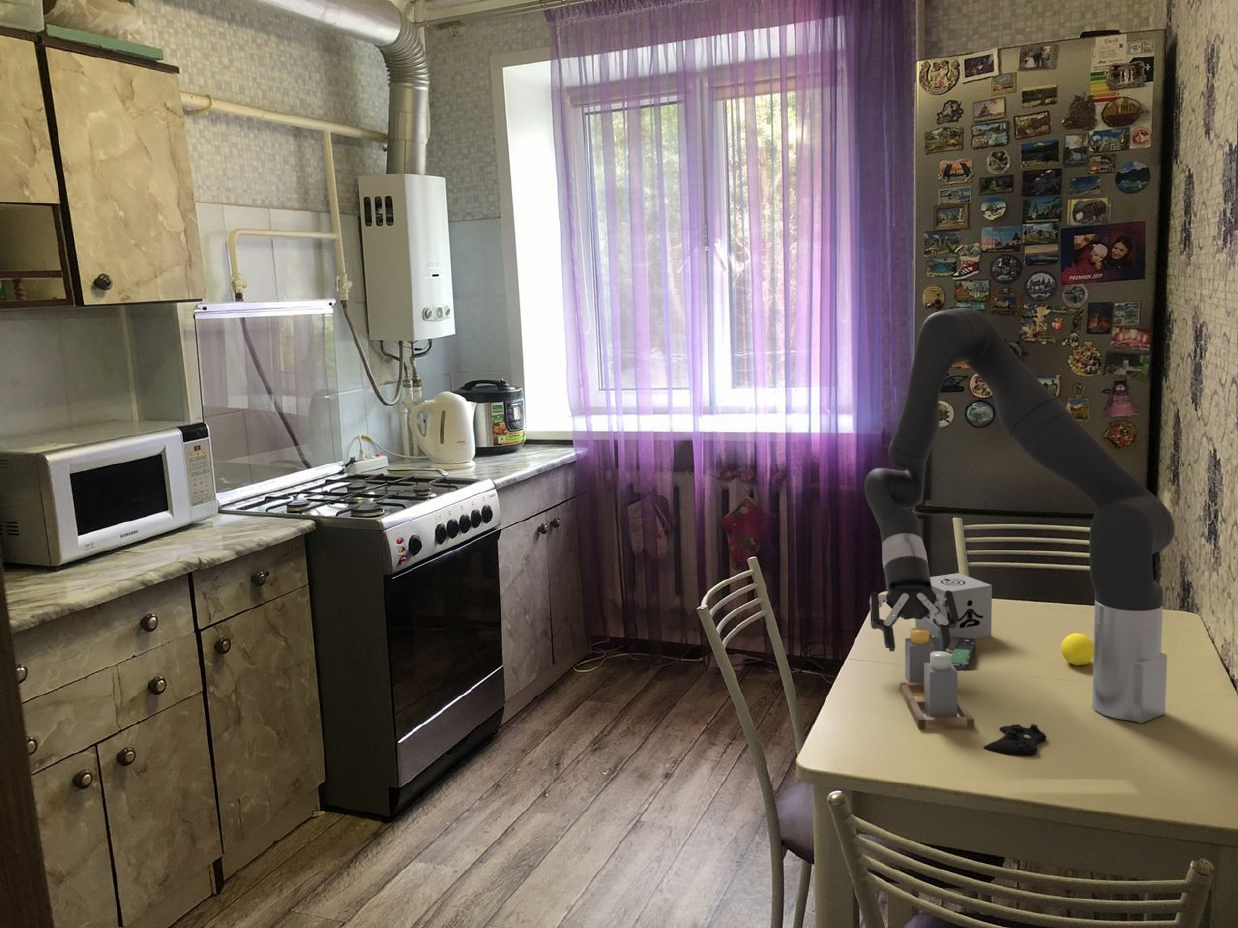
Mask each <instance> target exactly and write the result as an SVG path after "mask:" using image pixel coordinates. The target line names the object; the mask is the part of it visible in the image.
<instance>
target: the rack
mask: <svg viewBox="0 0 1238 928" xmlns="http://www.w3.org/2000/svg"><path fill="white" fill-rule="evenodd" d="M899 692H900V694H901V696H902V698H903V700H904V702H905V705H906V706H907V708H908V710H909V712H910V715H911V716H912V719H913V721H914V723H915V725H916V726H917V728H918V730H972V729H975V718H974V717H973V715H972V713H971V712H970V710H969V709H968V707H967V706H966V704H965V703H964V701H963V699H962V698H961V696H960V694H959V693H958V692H957V717H926V715H925V713H924V682H915V683H908V682H899Z"/></svg>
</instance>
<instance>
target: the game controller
mask: <svg viewBox="0 0 1238 928" xmlns="http://www.w3.org/2000/svg"><path fill="white" fill-rule="evenodd" d="M998 730H999V732H1001V733H1003V734H1004V735H1003V736H1002V737H1001V738H999V739H997V740H994V741H992V742H990V743H988V744H985V745H984V746H983V750H985V751H988V752H992V753H995V754H1000V755H1006V756H1014V757H1015V756H1016V757H1017V756H1018V757H1032V756H1034V755H1035V754H1037V752H1038V747H1037V745H1039V744H1041V743H1044V742H1045V740H1047V735H1046V733H1045V732H1043V731H1041V730H1040V729H1039V726H1038V725H1037V724H1033V723H1032V724H1030V726H1029V727H1025V726H1022V725H1021V724H1011V725H1004V726H1000V727H999V728H998Z"/></svg>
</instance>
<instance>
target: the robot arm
mask: <svg viewBox="0 0 1238 928" xmlns="http://www.w3.org/2000/svg"><path fill="white" fill-rule="evenodd" d="M920 327H921V328H919V329H920V330H919V333H918V336H917V341H916V345H915V350H914V357H913V360H912V361H913V362H912V367H911V372H910V376H909V377H910V378H909V383H908V387H907V392H906V397H905V401H904V404H903V407H902V411H901V415H900V417H899V420H898V422H897V425H896V428H895V430H894V433H893V436H892V437H891V440H890V443H889V446H888V451H887V454H888V457H889V459H890V460H891V461H892V462H893V463H894V464H896V465H898V466H899V467H902V468H905V470H899V469H892V468H885V467H876V468H874V469H872V470H871V471H870V472H869V473H868V474H867V475H866V478H865V481H864V487H863V488H864V495H865V498H866V502H867V504H868V506H869V508H870V509H871V513H872V515H873V516H874V518H875V521H876V522H877V524H878V527H879V531H880V532H879V533H880V539H881V545H882V546H881V547H882V552H881V553H882V556H881V557H882V567H883V570H884V577H885V584H886V592H887V593H886V594H879V593H878V592H877V591H872V592H871V593H870V598H869V613H870V627H871V628H872V629H873V630H877V629H878V630H880V631H882V635H883V642H884V647H885V648H886V649H888V650H889V652H895V650H896V643H895V635H894V627H893V626H894V624H896V623H897V621H898V620H899V618H901V619H903V620H911V619H914V620H915V619H922V618H924V617H925V618H926V619H927V620H928V621H929V622H930V623H931V624H934V625H935V626H936V627H937V628H938V629H939V631H938V634H939V640H940V645H941V651H946V650H947V648H949V646H950V642H951V639H950V634H949V628H955V627H956V626H957V622H958V620H959V617H958V613H957V609H956V605H955V601H954V597H953V593H952V592H951V591H949V590H948V591H946V592H945V593H943V594H935V593H934V591H933V590H932V585H931V579H930V577H931V575H930V573H931V572H930V570H929V569H930V568H929V564H928V563H929V562H928V556H927V552H926V549H925V545H924V541H923V537H922V536H923V535H922V531H921V530H922V529H921V523H920V520H919V517H918V516H917V514H916V513H915V512H913V511H912V509H914V508H915V507H916V506H918V505H919V504H920V503H921V501H922V500H923V497H924V489H925V477H926V476H925V474H926V467H927V461H928V458H929V456H930V452H931V450H932V447H933V446H934V443H935V441H936V438H937V434H938V431H939V427H940V422H941V421H940V420H941V418H940V417H941V416H940V392H941V389H942V386H943V383H944V380H945V379H946V377H947V375H948V372H949V371H950V369H951V368H952V366H953V365H955V364H956V365H957V364H961V363H964V364H966V366H968V367H969V368H971V370H972V371H974V372H975V374H977V376H978V377H979V378H980V379H981V380H982V381H983V382H984V383H985V385H986V386H987V387H988V389H989V391H990V393H991V394H992V395H991V396H992V397H993V400H994V406H995V409H996V412H997V416H998V419H999V421H1000V423H1001V426H1002V427H1003V429H1004V431H1005V432H1006V433H1007V434H1008V436H1009V437H1010V438H1011V439H1012V440H1013V441H1014V442H1015V444H1016V446H1018V447H1019V448H1020V450H1022V451H1023V452H1024V454H1026V456H1028V458H1029V459H1031V460H1032V461H1033V462H1034V463H1036V464H1037V465H1038V466H1040V467H1042V468H1043V469H1044V470H1046V471H1048V472H1049V473H1050V474H1051V473H1052V474H1053V475H1054V476H1056V477H1057V478H1060V479H1061V480H1063V481H1065V482H1066V483H1068V484H1069V485H1071V486H1073V487H1074V488H1076V489H1077V490H1078V491H1079V492H1081V493H1082V494H1083V495H1084V496H1085V497H1086V498H1087V499H1088V500H1089V501H1090V502H1091V503H1092V504H1093V506H1094V507H1095V508H1096V509H1097V510H1096V511H1095V512H1094V515H1093V517H1092V520H1091V522H1090V527H1089V541H1088V542H1089V543H1088V544H1089V545H1088V546H1089V576H1090V582H1091V584H1092V586H1093V589H1094V622H1093V623H1094V624H1093V625H1094V626H1093V628H1094V629H1093V644H1094V656H1093V658H1092V660H1093V661H1092V663H1093V664H1092V697H1091V698H1092V702H1091V703H1092V705H1091V706H1092V708H1093V709H1094V710H1095V711H1096V712H1098V713H1099V714H1101V715H1103V716H1107V717H1110V718H1113V719H1117V720H1122V721H1123V720H1124V721H1132V722H1136V723H1139V724H1143V723H1145V722H1148V721H1150V720H1153V719H1155V718H1158V717H1161V716H1164V715H1165V714H1166V697H1167V696H1166V694H1167V673H1168V672H1167V671H1168V670H1167V669H1168V668H1167V667H1168V656H1167V654H1166V653H1163V652H1162V636H1163V635H1162V634H1163V609H1164V607H1163V605H1164V589H1163V587H1162V586H1161V584H1159V583H1158V582H1157V581H1155V580H1154V575H1153V574H1154V573H1153V572H1154V571H1153V566H1154V565H1153V555H1154V554H1156V553H1159V552H1161V551H1163V550H1165V549H1166V548H1167V547H1168V546H1169V545H1170V544H1171V543H1172V541H1173V539H1174V536H1175V531H1176V527H1175V522H1174V519H1173V516H1172V514H1171V512H1170V510H1169V509H1168V508H1167V506H1166V505H1165V503H1163V502H1162V501H1161V500H1160V499H1159V498H1157V496H1156V495H1154V493H1152V492H1151V491H1150V490H1149V489H1147V487H1145V486H1143V484H1142V483H1141V482H1139V481H1138V480H1137V479H1136V478H1134V477H1133V476H1132V475H1131V474H1130V473H1128V471H1126V470H1125V469H1124V468H1123V467H1122V466H1121V465H1120V464H1119V463H1118V462H1116V461H1115V459H1113V457H1112V456H1111V455H1110V454H1109V453H1108V452H1107V451H1106V450H1105V449H1104V448H1103V447H1102V445H1101V444H1100V443H1099V442H1098V441H1097V440H1096V439H1095V438H1094V437H1093V436H1092V435H1091V434H1090V433H1089V432H1088V431H1087V429H1086V428H1085V427H1084V426H1083V425H1082V424H1081V423H1080V422H1079V421H1078V420H1077V419H1076V417H1075V416H1074V415H1073V414H1072V413H1071V412H1070V411H1069V409H1067V407H1065V406H1064V405H1063V403H1062V402H1061V401H1060V400H1059V399H1058V398H1057V397H1056V396H1055V395H1054V394H1052V393H1051V391H1050V390H1049V389H1047V388H1046V386H1045V385H1044V384H1043V383H1042V382H1041V381H1040V380H1039V379H1038V377H1036V375H1034V373H1033V372H1032V371H1031V370H1030V369H1029V368H1028V367H1027V366H1026V365H1025V364H1024V363H1023V362H1022V361H1021V360H1020V358H1018V356H1017V355H1016V354H1015V353H1014V351H1013V350H1012V349H1011V348H1010V346H1009V345H1008V343H1007V342H1006V341H1005V339H1004V338H1003V337H1002V335H1001V334H1000V333H999V331H998V330H997V328H995V325H993V324H992V322H991V321H990V320H989V318H987V316H985V315H984V314H983V313H982V312H980V311H979V310H977V309H974V308H970V307H959V308H952V309H946V310H940V311H937V312H934V313H931V314H930V315H929V316H928V317H927V318H926V319H925V320H924V321H923V323H922V325H921V326H920ZM936 601H938V602H939V603H940V604H941V606H942V607H945V610H946V614H947V619H946V618H945V617H944V616H943V615H942V614H941V613H940V611H939V610H938V609H937V608H936V607H935V606H934V604H935V602H936ZM884 603H886V605H887V606H889V608H890V609H891V610H890V612H889V614H888V615H887V616H886V618H885V619H882V618H880V608H882V606H883V604H884Z"/></svg>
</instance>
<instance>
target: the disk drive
mask: <svg viewBox="0 0 1238 928" xmlns="http://www.w3.org/2000/svg"><path fill="white" fill-rule="evenodd" d="M929 638H930V640H931V641H932V643H933V644H934V646H935V651H941V645H940V640H939V638H937V637H932V635H930V634H929ZM950 639H951V642H950V646H949V648H947V650H946V651H943V652H947V653H950V654H951V663H952V665H953V666H954V668H955V669H956V671H957V672H959V671H964V672H967V671H971V667H972V663H973V660H974V656H975V653H976V644H977V643H976V642H977V641H976V639H977V638H976V639H973V638H960V637H952V636H950Z"/></svg>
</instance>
